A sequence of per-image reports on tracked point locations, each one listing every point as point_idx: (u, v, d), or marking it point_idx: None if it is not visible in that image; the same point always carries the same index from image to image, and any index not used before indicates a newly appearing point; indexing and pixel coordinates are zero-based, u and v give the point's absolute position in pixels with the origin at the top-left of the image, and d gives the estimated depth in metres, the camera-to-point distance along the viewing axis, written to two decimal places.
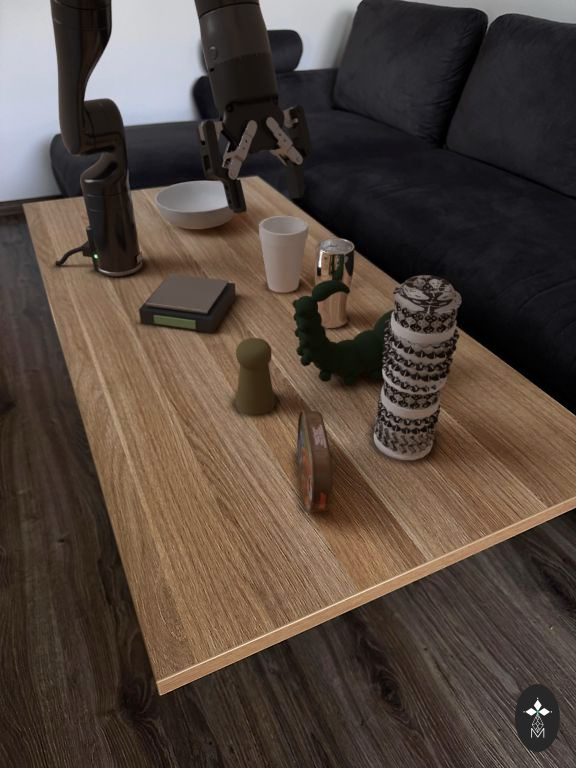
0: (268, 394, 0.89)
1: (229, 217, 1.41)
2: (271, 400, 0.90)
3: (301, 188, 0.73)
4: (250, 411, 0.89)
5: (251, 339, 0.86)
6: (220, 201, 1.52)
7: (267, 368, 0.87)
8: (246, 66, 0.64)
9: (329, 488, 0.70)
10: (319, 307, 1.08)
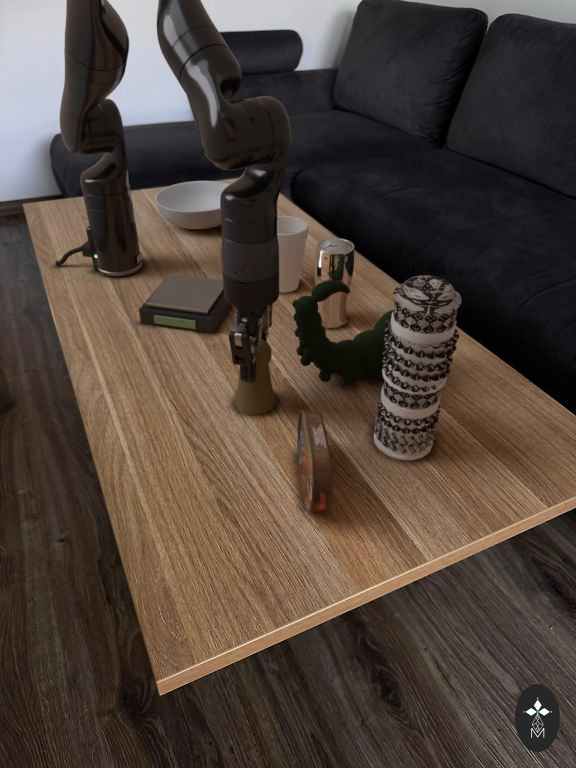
0: (268, 394, 0.89)
1: None
2: (271, 400, 0.90)
3: None
4: (250, 411, 0.89)
5: (251, 339, 0.86)
6: None
7: (266, 368, 0.87)
8: (273, 282, 0.77)
9: (329, 488, 0.70)
10: (319, 307, 1.08)
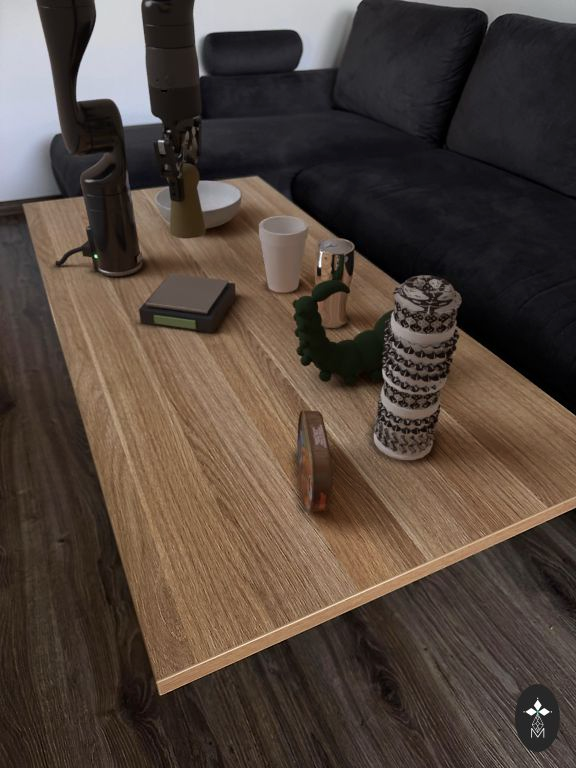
0: (197, 218, 0.97)
1: (229, 217, 1.41)
2: (201, 226, 0.99)
3: None
4: (181, 234, 0.98)
5: None
6: (220, 201, 1.52)
7: (195, 191, 0.95)
8: (193, 94, 0.85)
9: (329, 488, 0.70)
10: (319, 307, 1.08)
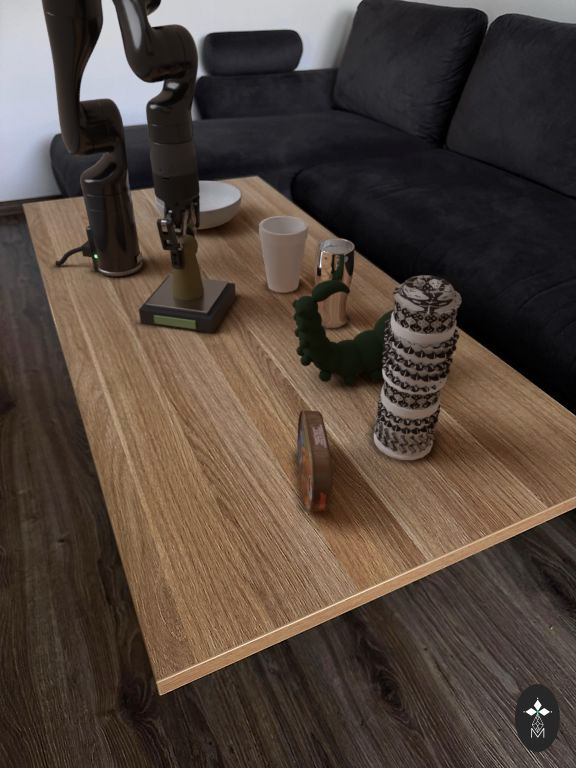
0: (196, 282, 1.09)
1: (229, 217, 1.41)
2: (200, 288, 1.10)
3: None
4: (182, 296, 1.09)
5: None
6: (220, 201, 1.52)
7: (194, 259, 1.07)
8: (191, 179, 0.96)
9: (329, 488, 0.70)
10: (319, 307, 1.08)
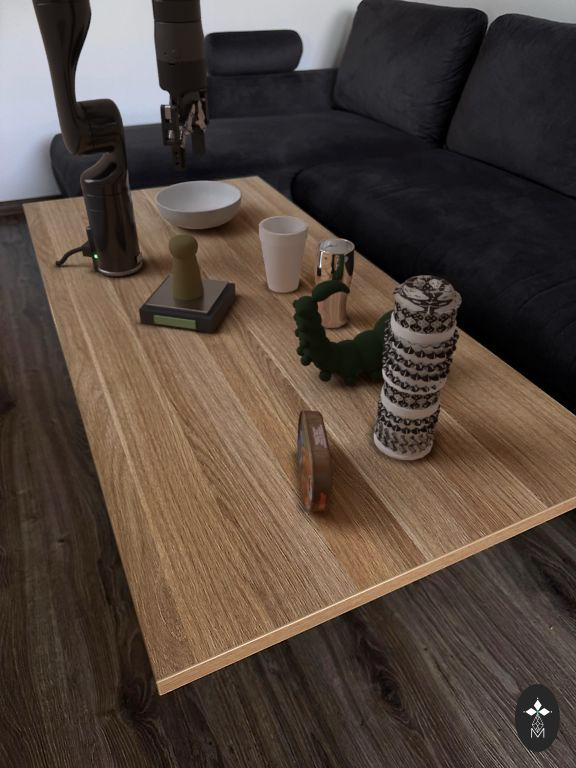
0: (196, 282, 1.09)
1: (229, 217, 1.41)
2: (200, 288, 1.10)
3: (205, 149, 1.03)
4: (182, 296, 1.09)
5: (181, 234, 1.06)
6: (220, 201, 1.52)
7: (194, 259, 1.07)
8: (199, 67, 0.89)
9: (329, 488, 0.70)
10: (319, 307, 1.08)
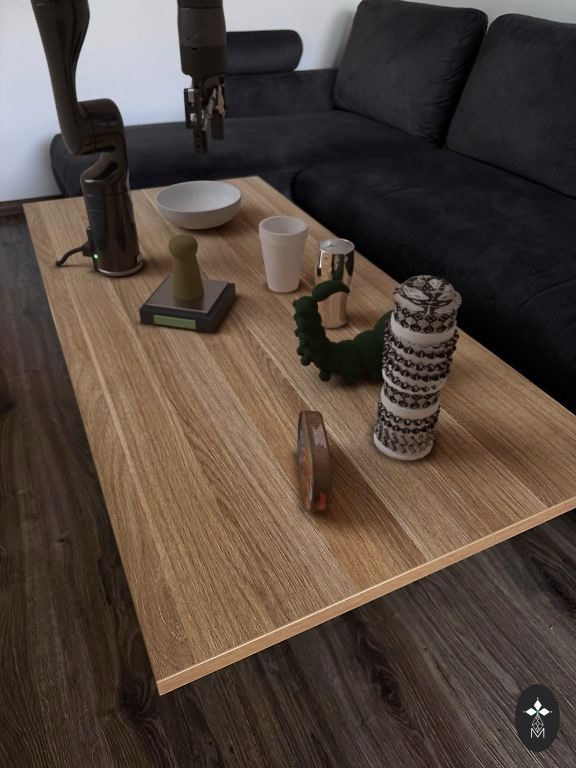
0: (196, 282, 1.09)
1: (229, 217, 1.41)
2: (200, 288, 1.10)
3: (223, 134, 1.06)
4: (182, 296, 1.09)
5: (181, 234, 1.06)
6: (220, 201, 1.52)
7: (194, 259, 1.07)
8: (221, 52, 0.92)
9: (329, 488, 0.70)
10: (319, 307, 1.08)
